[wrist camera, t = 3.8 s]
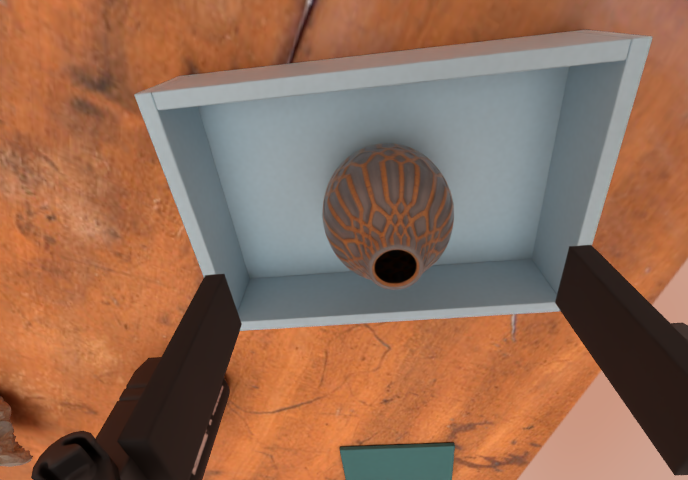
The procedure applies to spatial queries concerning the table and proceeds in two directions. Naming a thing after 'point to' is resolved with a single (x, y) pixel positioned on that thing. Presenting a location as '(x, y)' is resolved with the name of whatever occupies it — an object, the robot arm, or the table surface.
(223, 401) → the beverage can
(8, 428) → the grey rock
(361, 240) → the vase
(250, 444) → the table surface
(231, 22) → the table surface
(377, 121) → the tray
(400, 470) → the mat
